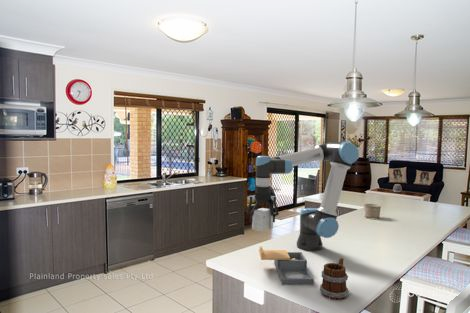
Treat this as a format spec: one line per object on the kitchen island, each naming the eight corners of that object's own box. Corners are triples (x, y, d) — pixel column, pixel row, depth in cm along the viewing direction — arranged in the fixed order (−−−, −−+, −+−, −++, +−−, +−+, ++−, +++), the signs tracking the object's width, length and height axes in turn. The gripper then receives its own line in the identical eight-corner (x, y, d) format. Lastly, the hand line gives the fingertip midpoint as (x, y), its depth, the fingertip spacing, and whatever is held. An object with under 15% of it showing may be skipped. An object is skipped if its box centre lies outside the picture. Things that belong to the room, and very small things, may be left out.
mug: (313, 295, 138) (317, 258, 139) (326, 289, 149) (329, 255, 150) (341, 304, 131) (345, 265, 132) (352, 296, 142) (355, 261, 143)
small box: (262, 226, 180) (262, 207, 179) (271, 228, 176) (271, 209, 175) (253, 229, 174) (253, 209, 173) (261, 232, 170) (262, 211, 169)
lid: (286, 251, 172) (286, 245, 172) (290, 259, 161) (290, 253, 161) (258, 251, 172) (259, 245, 172) (261, 259, 160) (261, 253, 160)
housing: (301, 263, 173) (301, 252, 173) (313, 284, 148) (314, 271, 148) (274, 263, 173) (274, 252, 172) (282, 284, 148) (282, 271, 147)
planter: (368, 215, 283) (369, 203, 283) (383, 218, 274) (383, 205, 273) (360, 217, 275) (361, 204, 275) (375, 220, 266) (376, 207, 265)
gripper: (283, 184, 177) (282, 226, 178) (241, 184, 177) (241, 226, 179) (285, 187, 170) (284, 230, 171) (242, 186, 170) (241, 230, 171)
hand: (262, 228), depth 175 cm, fingers closed on small box, 9 cm apart
